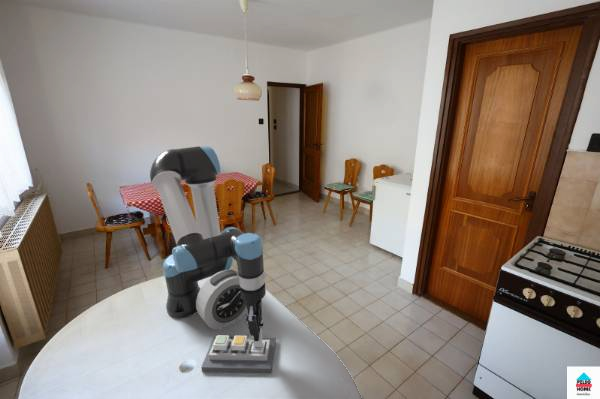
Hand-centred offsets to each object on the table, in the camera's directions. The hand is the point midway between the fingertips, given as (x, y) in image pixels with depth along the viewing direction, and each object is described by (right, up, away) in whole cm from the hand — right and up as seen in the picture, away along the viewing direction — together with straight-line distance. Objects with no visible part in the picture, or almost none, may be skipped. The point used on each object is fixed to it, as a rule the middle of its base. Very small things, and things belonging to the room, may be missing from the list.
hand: (258, 345), depth 91 cm
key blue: (0, -2, +1) cm, 3 cm away
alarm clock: (-15, +1, +20) cm, 25 cm away
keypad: (-6, -5, +2) cm, 8 cm away
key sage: (-12, 0, +1) cm, 12 cm away
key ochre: (-6, 0, 0) cm, 6 cm away
